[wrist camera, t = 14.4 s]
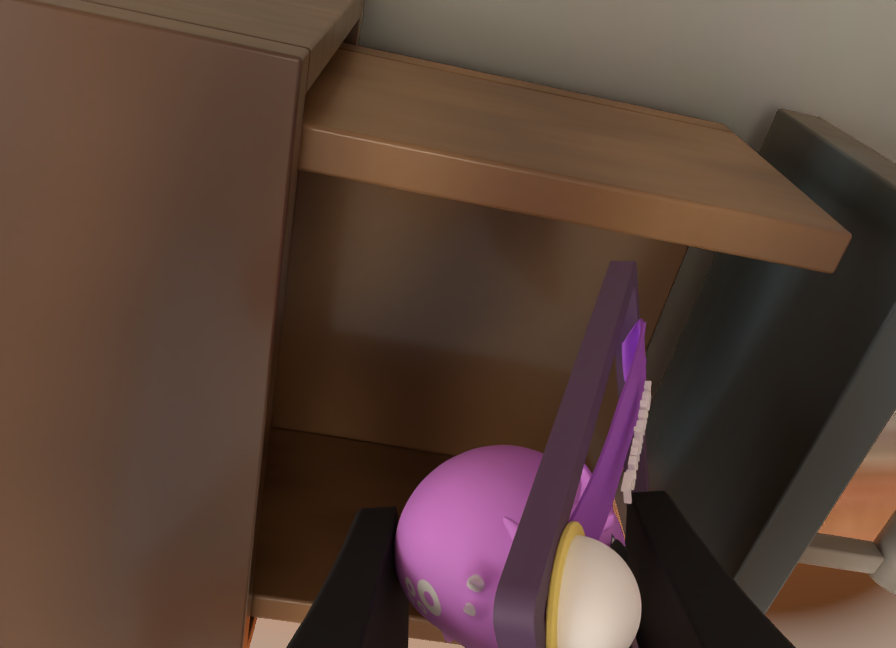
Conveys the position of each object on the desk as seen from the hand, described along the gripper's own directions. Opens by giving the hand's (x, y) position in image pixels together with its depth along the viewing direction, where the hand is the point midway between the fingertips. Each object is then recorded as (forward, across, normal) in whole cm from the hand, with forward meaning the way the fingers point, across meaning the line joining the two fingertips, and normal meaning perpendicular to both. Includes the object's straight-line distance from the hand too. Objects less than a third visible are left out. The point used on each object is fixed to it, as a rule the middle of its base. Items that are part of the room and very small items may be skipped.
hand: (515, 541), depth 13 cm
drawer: (+10, -3, +1) cm, 10 cm away
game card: (+2, 0, 0) cm, 2 cm away
